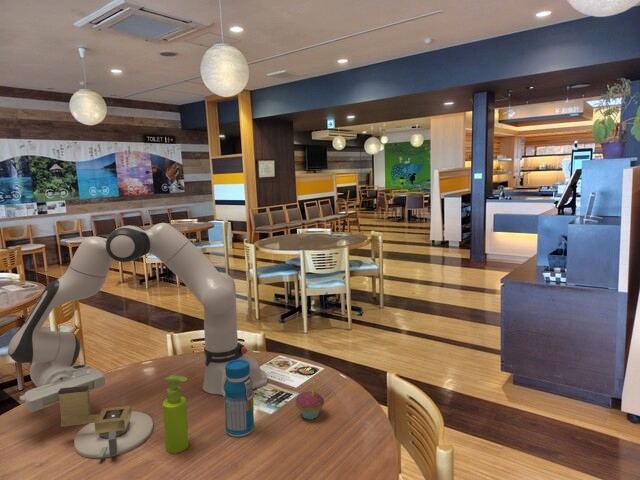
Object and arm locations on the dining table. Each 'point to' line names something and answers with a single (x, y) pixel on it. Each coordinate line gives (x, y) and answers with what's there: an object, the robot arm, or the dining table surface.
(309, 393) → the cupcake
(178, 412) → the soap dispenser
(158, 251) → the robot arm
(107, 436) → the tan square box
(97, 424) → the tan piece
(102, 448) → the plate
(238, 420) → the beverage bottle
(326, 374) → the dining table surface
